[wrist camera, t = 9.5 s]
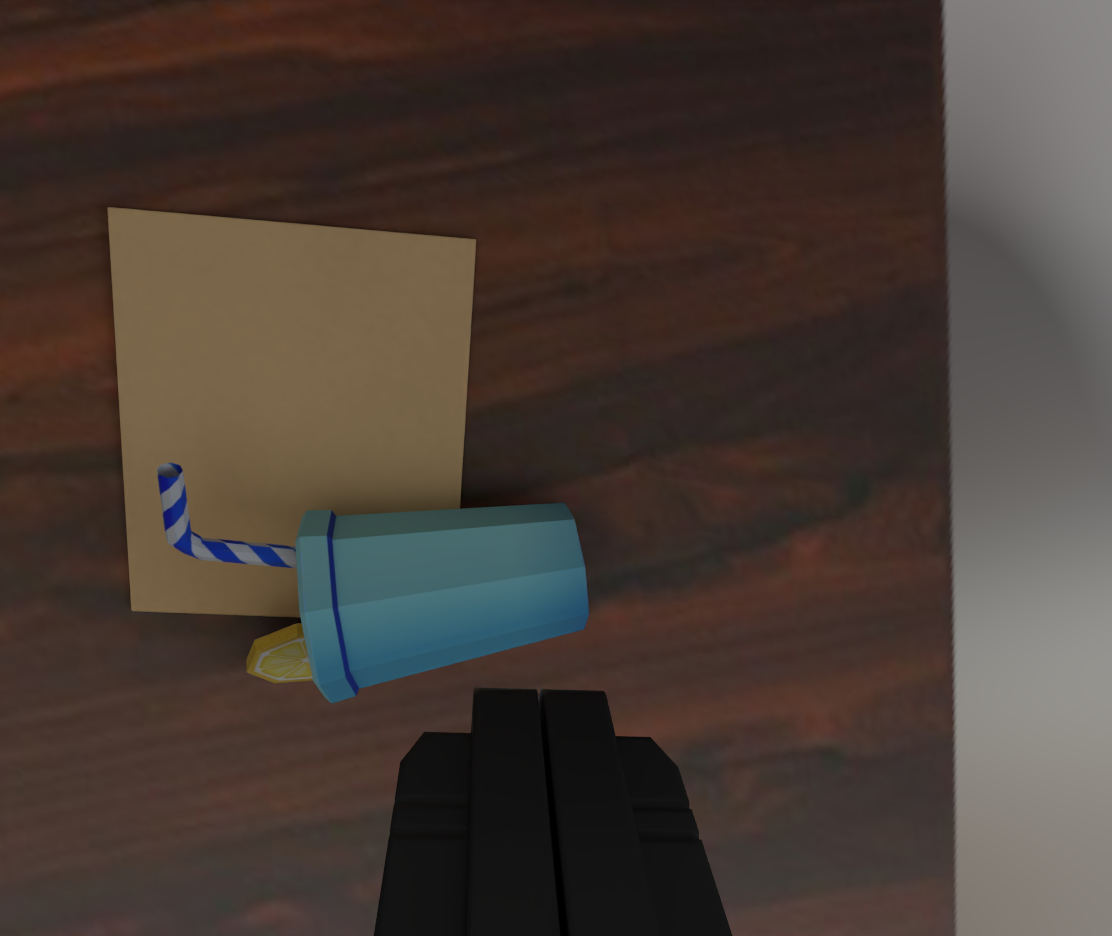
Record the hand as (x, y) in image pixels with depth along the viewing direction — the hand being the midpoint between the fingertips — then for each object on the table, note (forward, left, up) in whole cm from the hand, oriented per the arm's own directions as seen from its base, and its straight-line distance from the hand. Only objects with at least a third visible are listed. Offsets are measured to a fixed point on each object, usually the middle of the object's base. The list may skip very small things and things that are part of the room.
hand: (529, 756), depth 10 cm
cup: (-4, +7, -24) cm, 26 cm away
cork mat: (+8, +4, -28) cm, 29 cm away
